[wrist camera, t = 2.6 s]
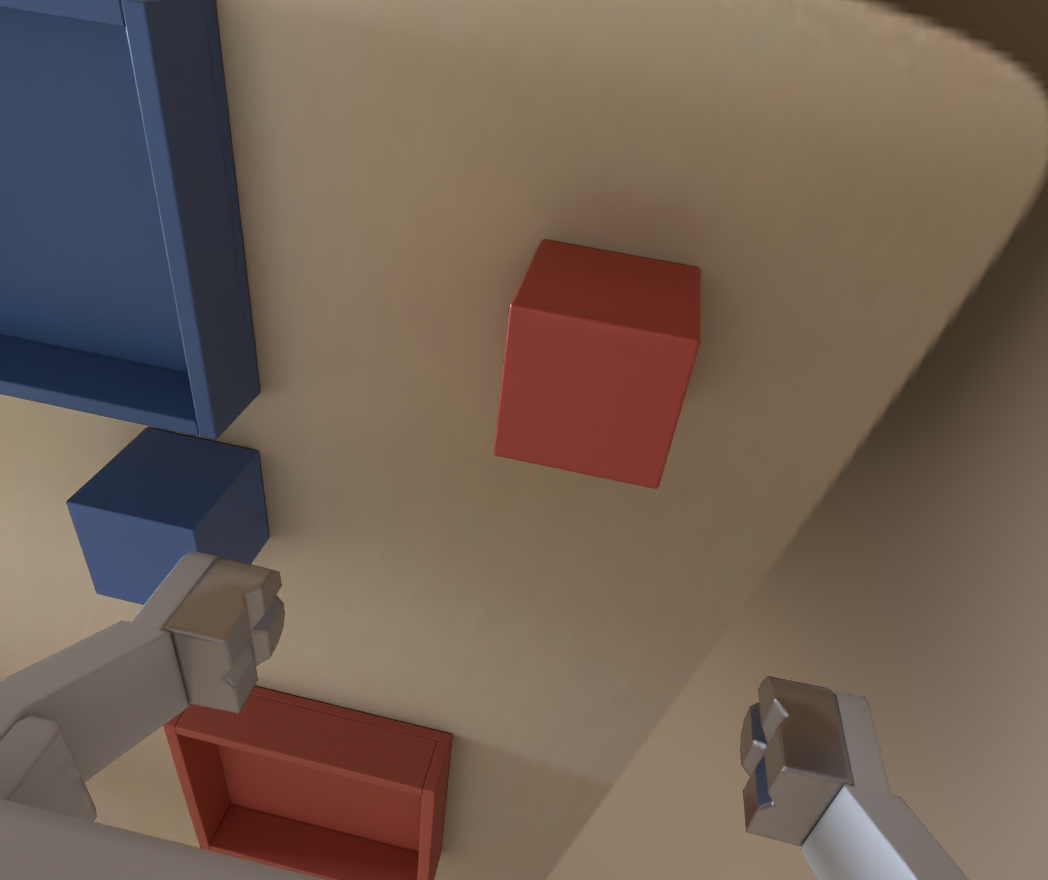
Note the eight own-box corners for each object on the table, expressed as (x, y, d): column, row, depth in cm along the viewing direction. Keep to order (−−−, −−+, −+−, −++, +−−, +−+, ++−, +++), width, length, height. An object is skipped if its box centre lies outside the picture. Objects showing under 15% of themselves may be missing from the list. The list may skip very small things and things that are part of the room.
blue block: (258, 450, 28) (193, 530, 24) (269, 538, 30) (211, 621, 27) (146, 426, 28) (65, 501, 24) (167, 514, 31) (96, 594, 27)
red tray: (452, 734, 36) (435, 792, 33) (441, 853, 43) (425, 908, 41) (197, 671, 37) (162, 724, 35) (227, 798, 44) (200, 848, 42)
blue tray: (214, -9, 19) (144, 1, 16) (260, 392, 26) (216, 441, 24) (-244, -82, 20) (-373, -81, 18) (-79, 322, 27) (-154, 361, 25)
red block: (700, 266, 21) (701, 340, 17) (664, 401, 23) (658, 490, 20) (542, 237, 21) (509, 304, 17) (524, 374, 24) (492, 456, 20)
